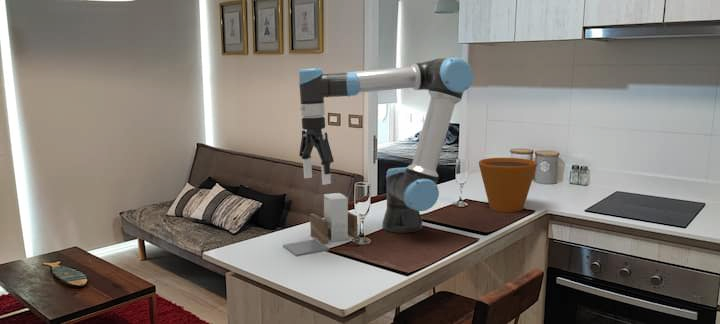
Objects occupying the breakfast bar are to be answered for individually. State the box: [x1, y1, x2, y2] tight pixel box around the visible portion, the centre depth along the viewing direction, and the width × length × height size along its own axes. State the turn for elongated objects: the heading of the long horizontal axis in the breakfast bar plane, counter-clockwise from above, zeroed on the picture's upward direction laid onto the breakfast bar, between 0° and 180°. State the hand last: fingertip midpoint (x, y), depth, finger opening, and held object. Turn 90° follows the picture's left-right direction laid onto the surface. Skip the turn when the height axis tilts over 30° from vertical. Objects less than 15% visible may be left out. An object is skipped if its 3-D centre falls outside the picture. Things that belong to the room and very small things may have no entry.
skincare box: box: [323, 192, 349, 243], centre depth 191 cm, size 8×7×16 cm
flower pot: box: [478, 157, 538, 213], centre depth 229 cm, size 24×24×20 cm
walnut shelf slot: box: [309, 211, 359, 245], centre depth 194 cm, size 13×12×8 cm
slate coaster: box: [282, 238, 331, 257], centre depth 181 cm, size 12×12×1 cm
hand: (317, 180), depth 177 cm, fingers open, 13 cm apart
